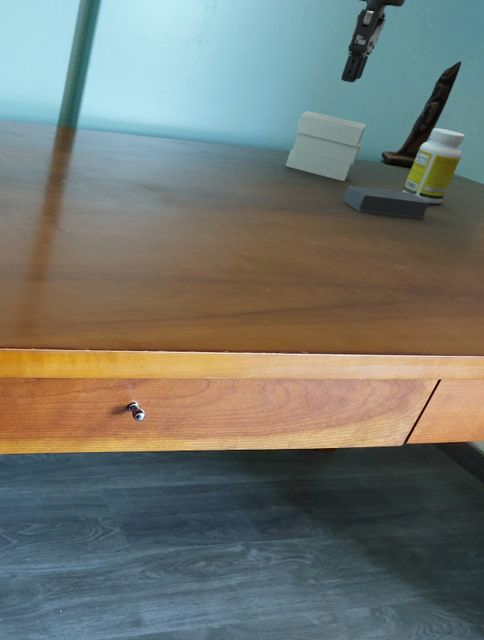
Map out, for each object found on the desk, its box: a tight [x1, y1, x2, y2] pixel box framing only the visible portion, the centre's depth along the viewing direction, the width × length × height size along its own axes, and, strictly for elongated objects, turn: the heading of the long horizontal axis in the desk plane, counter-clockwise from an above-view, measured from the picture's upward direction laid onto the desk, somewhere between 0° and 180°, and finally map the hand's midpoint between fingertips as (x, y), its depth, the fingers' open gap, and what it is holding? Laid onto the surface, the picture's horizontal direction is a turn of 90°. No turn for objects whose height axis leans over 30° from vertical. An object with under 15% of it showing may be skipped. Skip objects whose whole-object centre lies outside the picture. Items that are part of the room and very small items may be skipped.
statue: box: [381, 60, 462, 168], centre depth 140 cm, size 4×7×20 cm, turn 85°
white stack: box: [285, 132, 363, 182], centre depth 126 cm, size 10×4×6 cm, turn 61°
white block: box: [295, 110, 367, 147], centre depth 124 cm, size 10×6×3 cm, turn 61°
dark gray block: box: [343, 185, 429, 220], centre depth 104 cm, size 10×4×4 cm, turn 96°
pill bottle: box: [401, 127, 465, 205], centre depth 119 cm, size 6×6×11 cm
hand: (350, 79), depth 120 cm, fingers open, 8 cm apart
